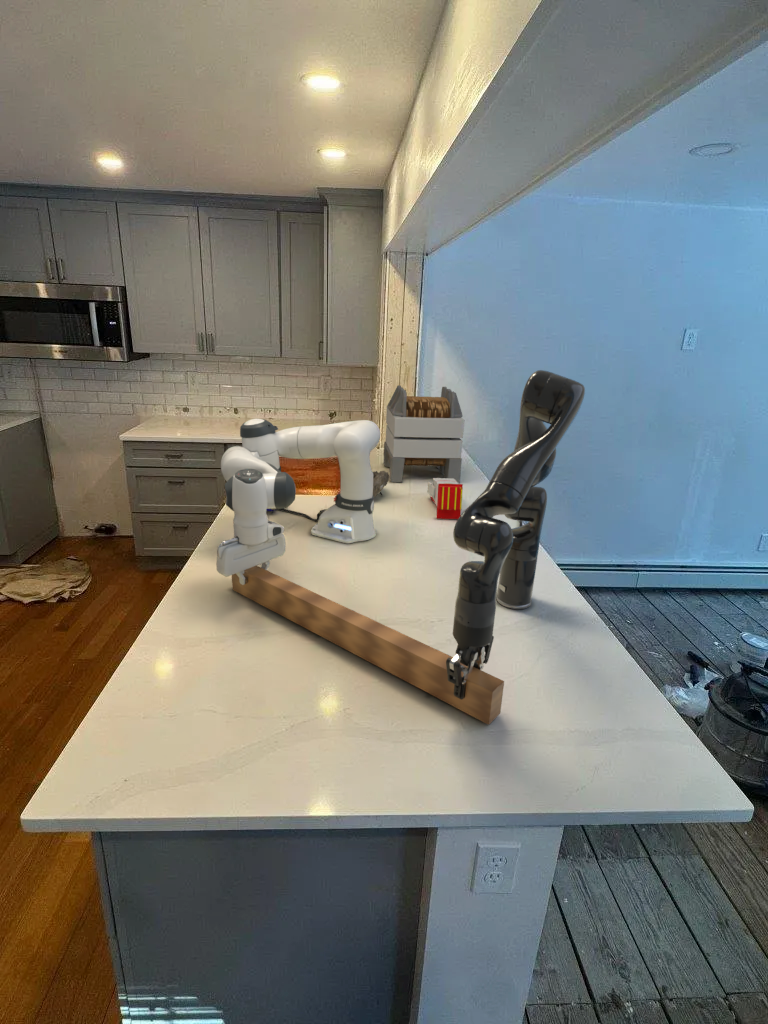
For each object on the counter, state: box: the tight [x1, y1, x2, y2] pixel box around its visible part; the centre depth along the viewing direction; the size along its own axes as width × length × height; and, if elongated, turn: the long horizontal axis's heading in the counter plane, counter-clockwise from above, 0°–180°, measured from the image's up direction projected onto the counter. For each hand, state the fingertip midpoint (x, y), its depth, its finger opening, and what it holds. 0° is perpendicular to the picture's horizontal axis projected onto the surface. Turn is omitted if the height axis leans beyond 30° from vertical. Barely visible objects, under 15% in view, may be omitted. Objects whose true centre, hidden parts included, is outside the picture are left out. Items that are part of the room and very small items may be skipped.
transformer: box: [383, 384, 465, 484], centre depth 268 cm, size 34×33×41 cm
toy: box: [427, 477, 464, 520], centre depth 227 cm, size 12×13×30 cm
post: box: [231, 565, 505, 726], centre depth 133 cm, size 81×4×8 cm, turn 50°
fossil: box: [372, 470, 390, 498], centre depth 238 cm, size 22×10×15 cm
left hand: (253, 579), depth 152 cm, fingers open, 5 cm apart
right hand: (466, 690), depth 113 cm, fingers open, 4 cm apart
